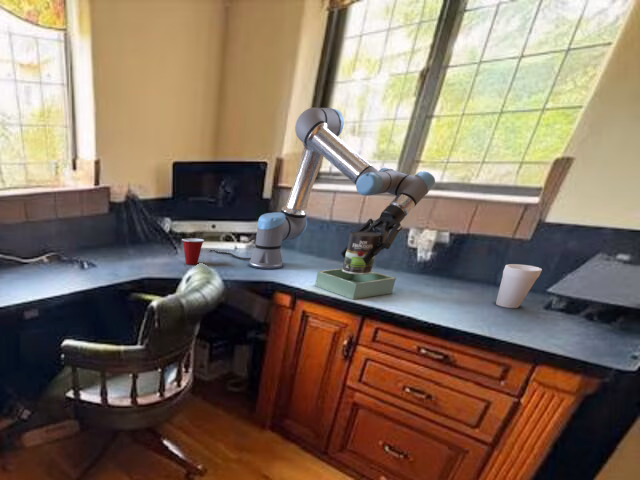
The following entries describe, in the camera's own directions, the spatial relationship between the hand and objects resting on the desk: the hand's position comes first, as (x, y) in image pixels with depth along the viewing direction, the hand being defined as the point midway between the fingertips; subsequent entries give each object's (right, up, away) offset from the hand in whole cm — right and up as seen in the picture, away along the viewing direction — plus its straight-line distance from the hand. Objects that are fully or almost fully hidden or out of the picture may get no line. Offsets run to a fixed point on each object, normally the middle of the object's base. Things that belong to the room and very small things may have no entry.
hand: (353, 258), depth 159 cm
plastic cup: (-54, +13, +51) cm, 75 cm away
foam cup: (+46, -21, -14) cm, 52 cm away
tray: (+3, -10, +7) cm, 13 cm away
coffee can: (+3, -4, +4) cm, 6 cm away
